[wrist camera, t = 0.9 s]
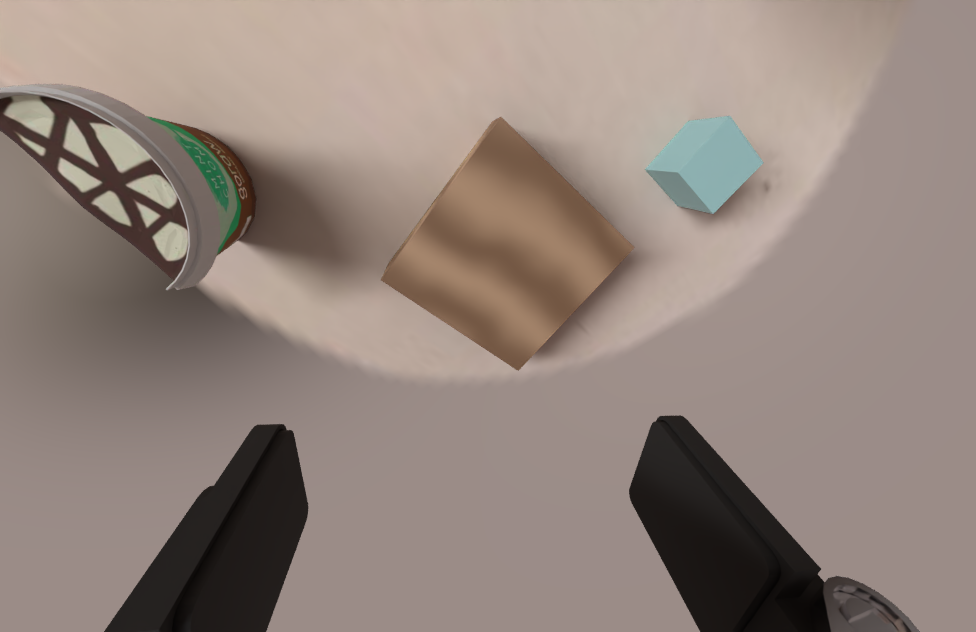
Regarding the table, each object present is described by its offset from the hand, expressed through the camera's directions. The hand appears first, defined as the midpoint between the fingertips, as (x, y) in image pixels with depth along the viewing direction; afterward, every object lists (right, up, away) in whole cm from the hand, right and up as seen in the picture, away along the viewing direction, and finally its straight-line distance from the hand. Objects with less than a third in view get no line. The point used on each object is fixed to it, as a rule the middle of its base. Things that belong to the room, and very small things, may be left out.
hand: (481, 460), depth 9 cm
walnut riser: (+1, +10, +24) cm, 26 cm away
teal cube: (+18, +17, +23) cm, 34 cm away
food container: (-21, +15, +19) cm, 32 cm away
